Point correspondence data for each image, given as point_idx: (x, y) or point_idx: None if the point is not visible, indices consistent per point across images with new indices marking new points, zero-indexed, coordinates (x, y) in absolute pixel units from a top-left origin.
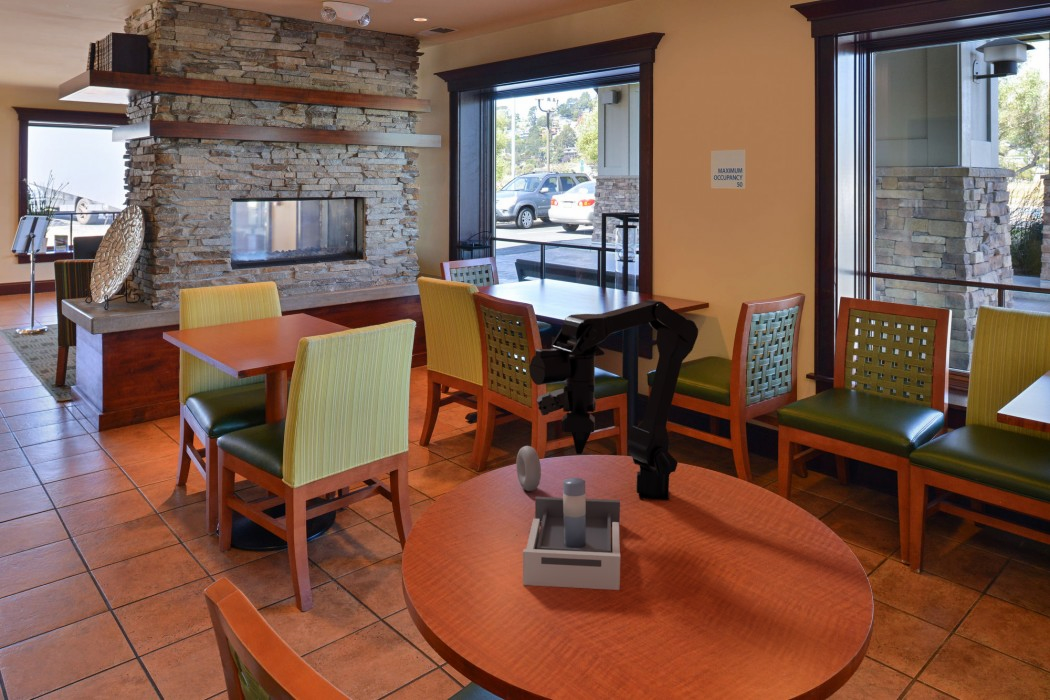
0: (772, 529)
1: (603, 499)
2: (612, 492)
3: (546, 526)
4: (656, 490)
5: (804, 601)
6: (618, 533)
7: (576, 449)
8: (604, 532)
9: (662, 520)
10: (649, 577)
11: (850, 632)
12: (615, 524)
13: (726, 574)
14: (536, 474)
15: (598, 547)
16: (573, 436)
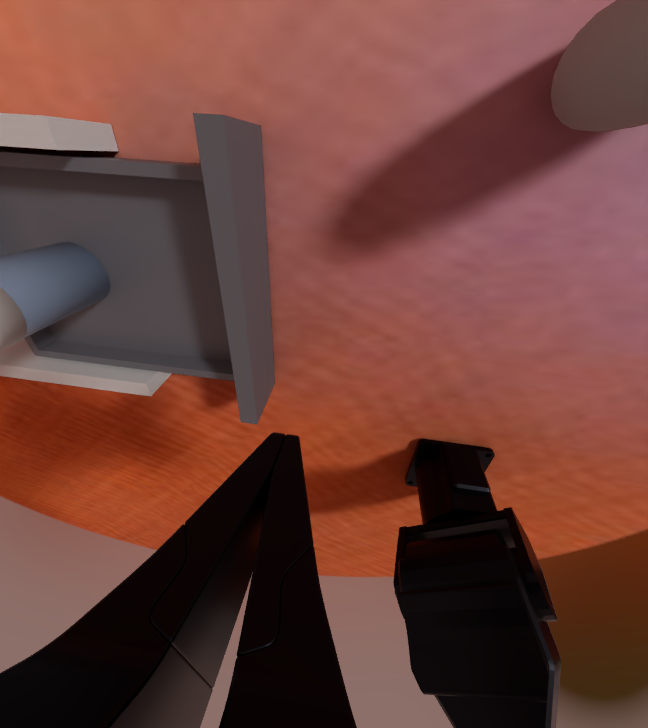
0: None
1: (252, 388)
2: (485, 393)
3: (154, 179)
4: (417, 482)
5: (104, 512)
6: (88, 386)
7: (253, 456)
8: (176, 349)
9: (304, 450)
10: (63, 391)
11: (64, 518)
12: (135, 387)
13: (130, 475)
14: (572, 95)
15: (90, 327)
16: (144, 565)
